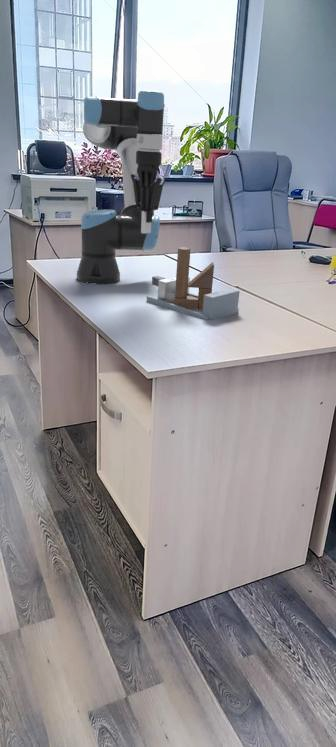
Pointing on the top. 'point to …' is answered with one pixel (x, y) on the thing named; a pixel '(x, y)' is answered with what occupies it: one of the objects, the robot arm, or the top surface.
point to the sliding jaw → (166, 288)
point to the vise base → (208, 304)
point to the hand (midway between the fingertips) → (145, 232)
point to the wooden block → (191, 282)
